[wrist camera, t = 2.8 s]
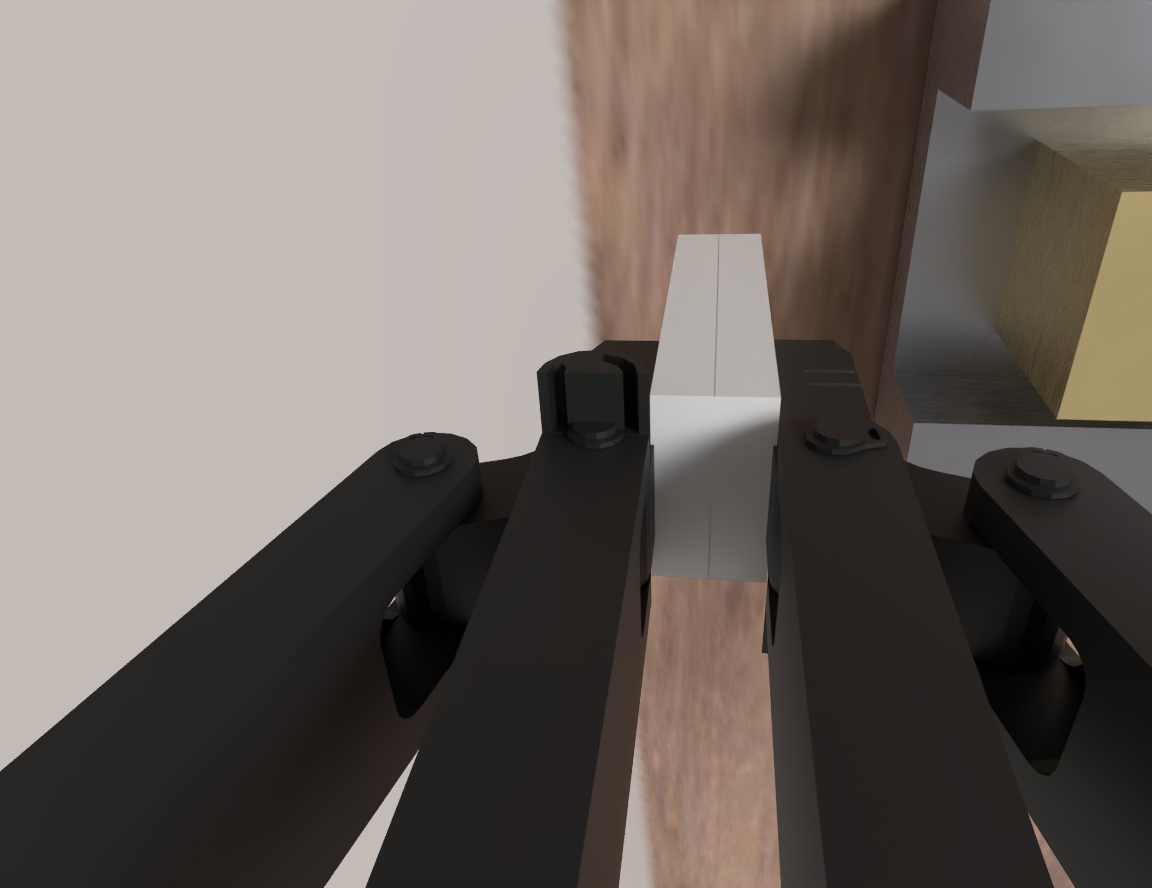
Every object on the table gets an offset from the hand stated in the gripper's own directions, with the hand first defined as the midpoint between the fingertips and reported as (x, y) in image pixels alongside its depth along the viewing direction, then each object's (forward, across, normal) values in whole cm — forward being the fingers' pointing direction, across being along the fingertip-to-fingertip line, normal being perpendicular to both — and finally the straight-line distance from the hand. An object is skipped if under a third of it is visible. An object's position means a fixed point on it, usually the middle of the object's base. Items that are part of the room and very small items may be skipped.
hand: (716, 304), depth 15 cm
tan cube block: (+3, +8, 0) cm, 9 cm away
